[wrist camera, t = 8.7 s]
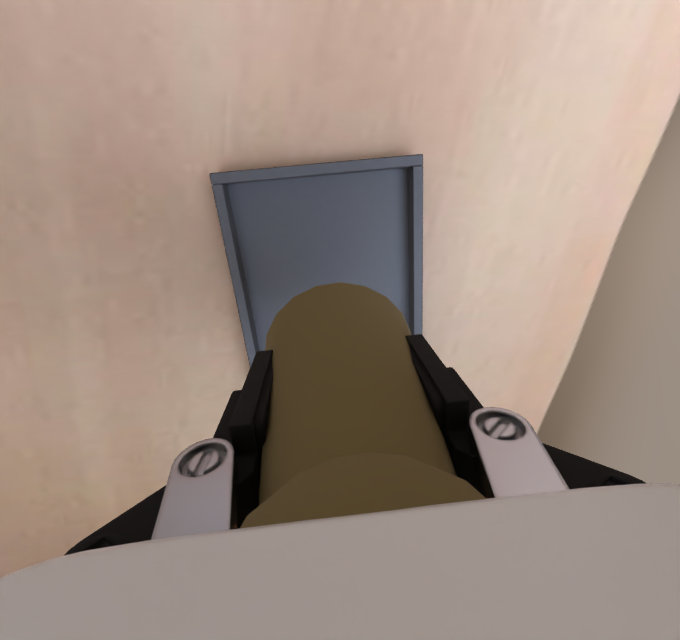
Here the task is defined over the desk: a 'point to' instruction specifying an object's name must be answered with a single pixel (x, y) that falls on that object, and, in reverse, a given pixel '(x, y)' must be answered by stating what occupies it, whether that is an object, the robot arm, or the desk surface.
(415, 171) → the tray
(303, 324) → the olive rounded lobed piece
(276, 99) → the desk surface
